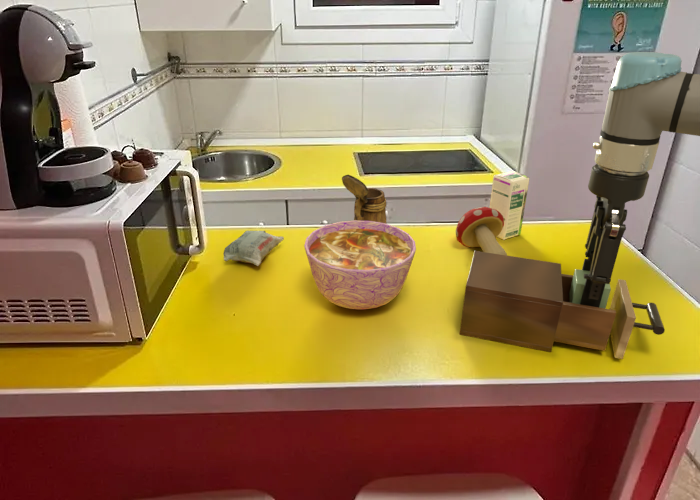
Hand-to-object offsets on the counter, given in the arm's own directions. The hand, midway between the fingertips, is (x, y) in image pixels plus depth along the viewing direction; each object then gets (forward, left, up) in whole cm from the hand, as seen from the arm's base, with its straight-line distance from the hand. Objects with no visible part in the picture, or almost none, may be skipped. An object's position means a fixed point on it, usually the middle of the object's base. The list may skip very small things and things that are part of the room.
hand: (586, 303), depth 85 cm
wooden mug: (+45, -22, -7) cm, 50 cm away
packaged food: (+65, -7, -7) cm, 65 cm away
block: (0, 0, 0) cm, 0 cm away
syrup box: (+15, -37, -7) cm, 40 cm away
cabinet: (+12, 0, -7) cm, 13 cm away
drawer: (-2, 0, -6) cm, 6 cm away
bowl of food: (+39, +1, -7) cm, 39 cm away
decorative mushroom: (+19, -24, -7) cm, 31 cm away
